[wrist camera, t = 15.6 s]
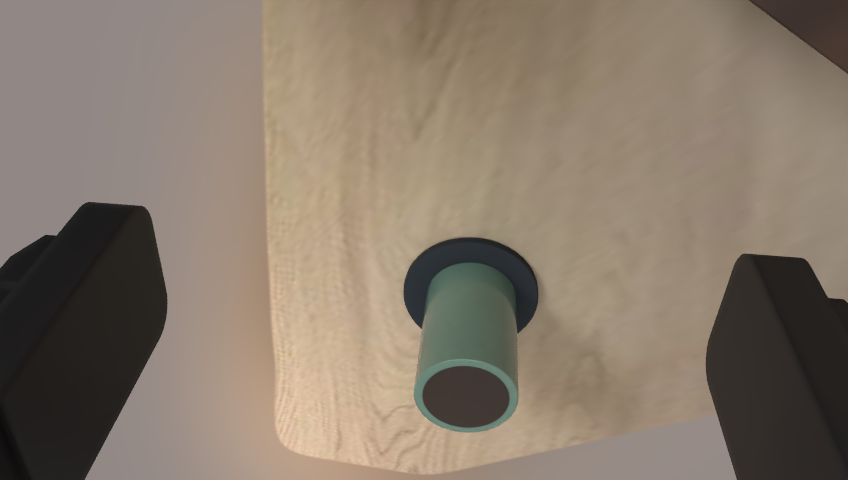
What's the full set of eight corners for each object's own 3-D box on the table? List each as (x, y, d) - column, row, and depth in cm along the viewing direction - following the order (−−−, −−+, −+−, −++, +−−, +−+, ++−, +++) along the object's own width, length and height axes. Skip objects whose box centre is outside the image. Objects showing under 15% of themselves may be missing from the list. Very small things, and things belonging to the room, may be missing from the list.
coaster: (380, 303, 53) (379, 309, 52) (451, 214, 48) (450, 219, 48) (487, 360, 55) (487, 365, 55) (565, 279, 50) (566, 285, 50)
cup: (410, 305, 52) (394, 405, 45) (458, 247, 49) (450, 343, 41) (482, 344, 53) (479, 447, 46) (534, 289, 50) (539, 390, 43)
